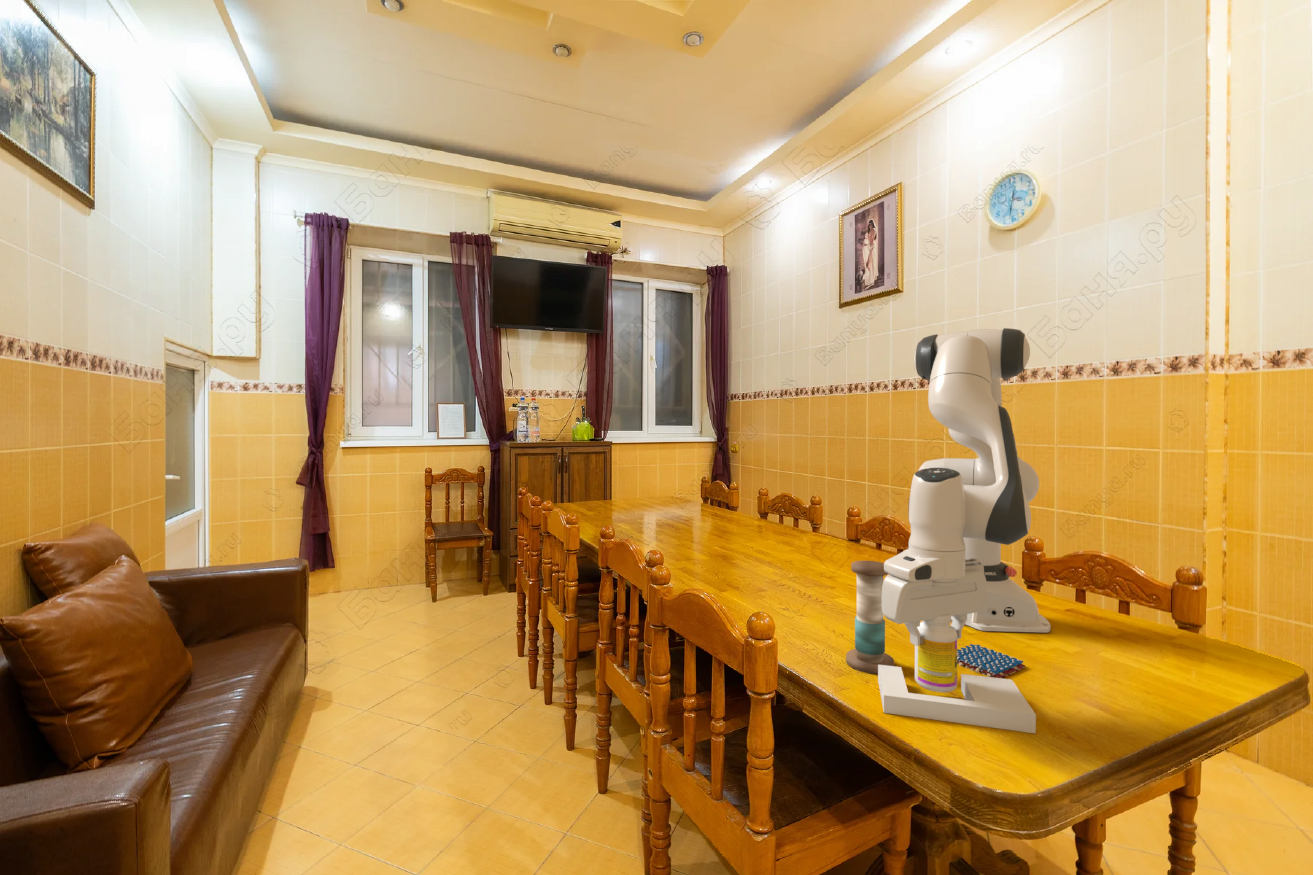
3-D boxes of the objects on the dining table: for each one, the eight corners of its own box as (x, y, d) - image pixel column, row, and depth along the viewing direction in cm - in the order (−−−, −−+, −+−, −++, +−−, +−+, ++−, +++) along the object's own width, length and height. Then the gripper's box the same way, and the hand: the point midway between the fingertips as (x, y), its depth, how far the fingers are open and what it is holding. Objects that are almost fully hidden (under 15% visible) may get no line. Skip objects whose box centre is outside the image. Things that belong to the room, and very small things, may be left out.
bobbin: (891, 656, 114) (891, 560, 114) (896, 676, 106) (896, 572, 105) (845, 651, 117) (845, 558, 116) (846, 670, 109) (846, 569, 108)
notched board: (1011, 696, 98) (1011, 679, 98) (1035, 733, 87) (1035, 714, 86) (878, 680, 105) (878, 664, 104) (883, 712, 93) (883, 695, 93)
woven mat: (998, 684, 104) (998, 673, 103) (944, 662, 113) (944, 652, 113) (1028, 670, 109) (1028, 660, 109) (974, 651, 118) (974, 641, 118)
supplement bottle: (962, 695, 93) (963, 620, 93) (920, 692, 94) (920, 617, 94) (949, 677, 100) (950, 606, 99) (910, 674, 101) (910, 604, 100)
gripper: (968, 553, 102) (967, 627, 103) (875, 563, 96) (875, 641, 97) (998, 561, 96) (997, 640, 97) (902, 572, 90) (901, 656, 91)
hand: (935, 641), depth 97 cm, fingers closed on supplement bottle, 7 cm apart
